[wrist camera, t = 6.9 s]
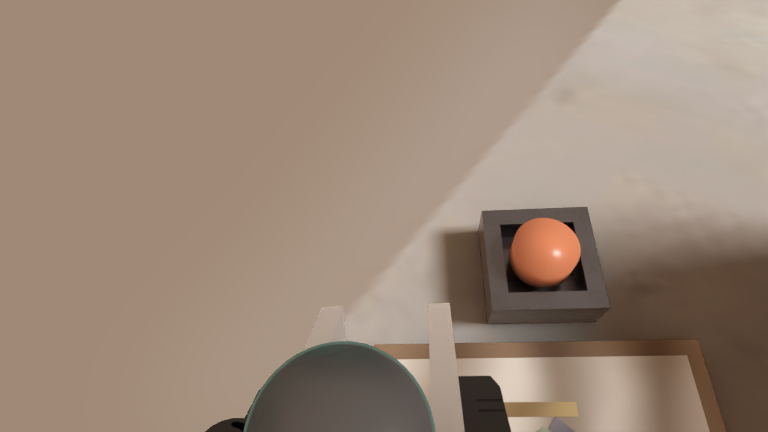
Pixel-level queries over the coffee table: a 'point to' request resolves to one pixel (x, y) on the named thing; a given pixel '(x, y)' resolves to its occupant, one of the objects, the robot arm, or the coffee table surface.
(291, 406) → the marker
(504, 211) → the button housing
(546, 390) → the board
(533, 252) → the button
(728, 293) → the coffee table surface
